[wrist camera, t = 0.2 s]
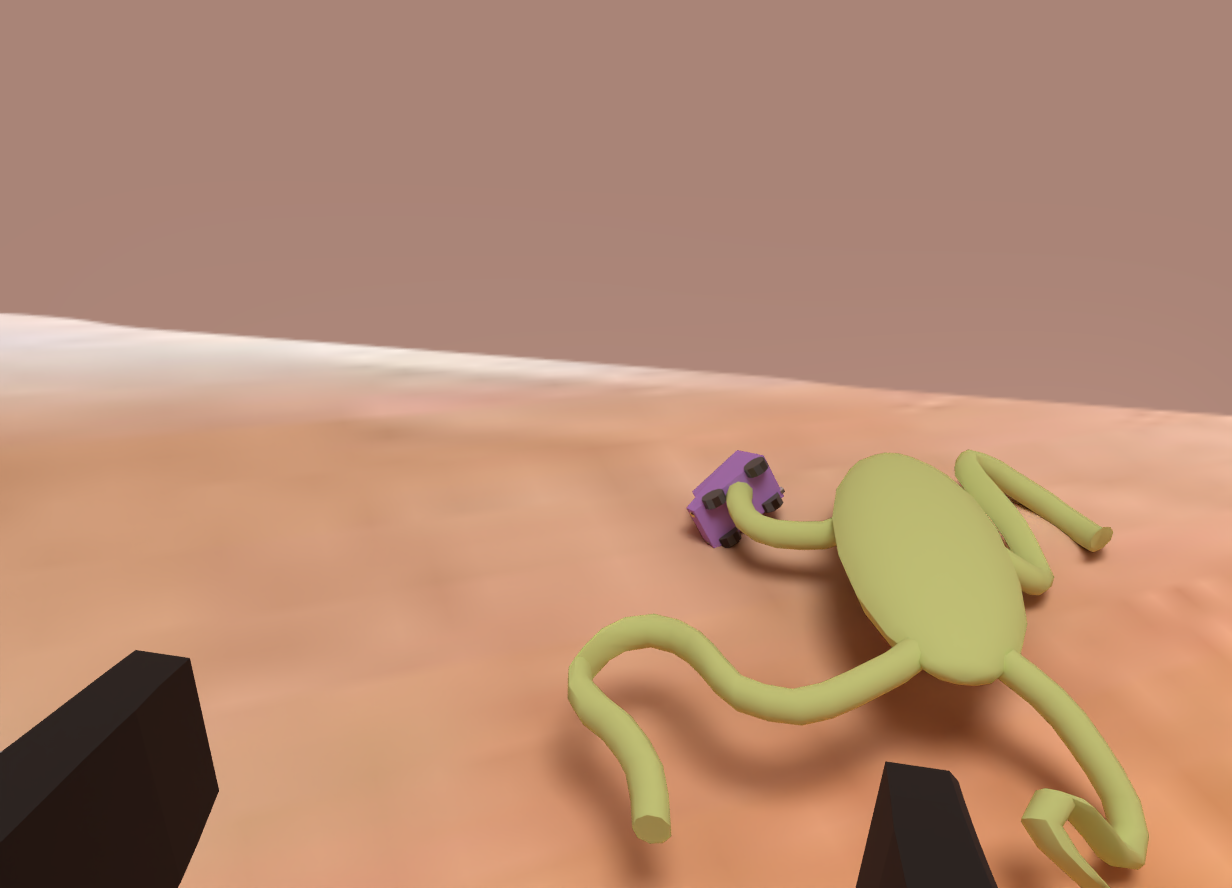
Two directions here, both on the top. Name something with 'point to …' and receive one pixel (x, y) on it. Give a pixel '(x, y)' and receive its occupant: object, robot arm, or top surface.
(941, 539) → the figurine
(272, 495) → the top surface
